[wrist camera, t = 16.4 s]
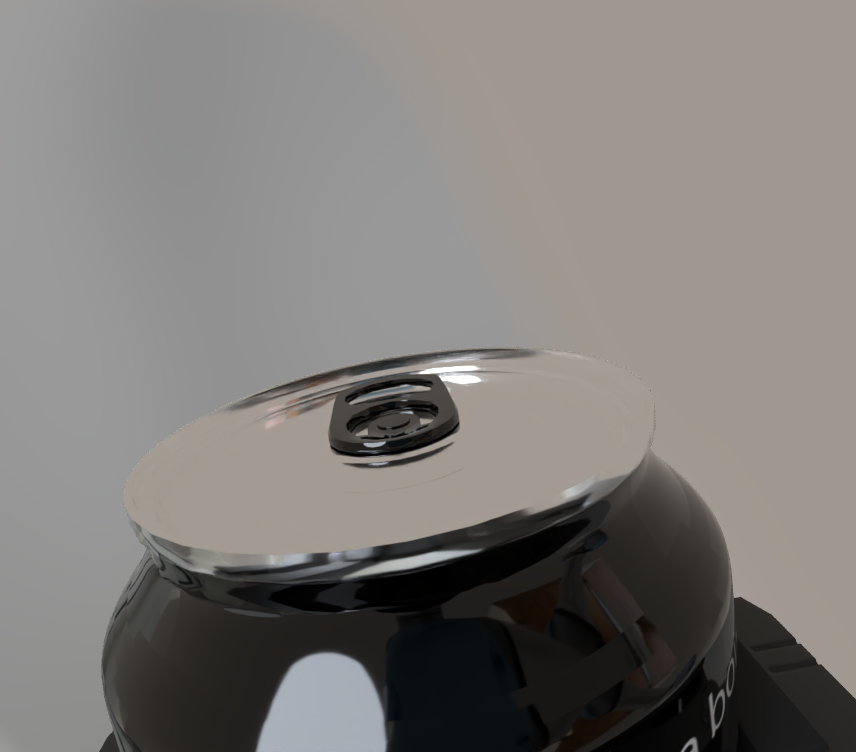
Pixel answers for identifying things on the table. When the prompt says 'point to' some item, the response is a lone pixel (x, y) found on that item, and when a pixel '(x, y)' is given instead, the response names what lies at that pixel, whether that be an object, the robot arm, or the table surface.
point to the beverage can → (425, 570)
